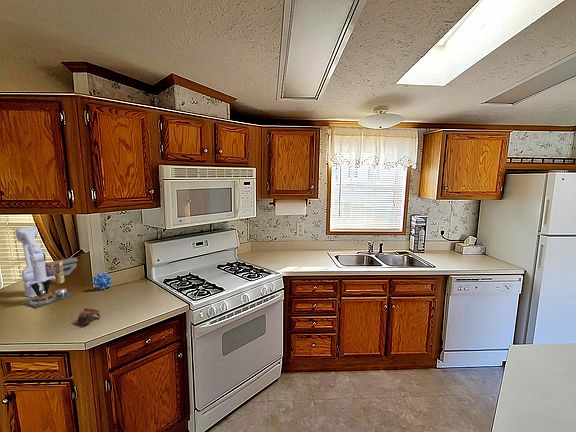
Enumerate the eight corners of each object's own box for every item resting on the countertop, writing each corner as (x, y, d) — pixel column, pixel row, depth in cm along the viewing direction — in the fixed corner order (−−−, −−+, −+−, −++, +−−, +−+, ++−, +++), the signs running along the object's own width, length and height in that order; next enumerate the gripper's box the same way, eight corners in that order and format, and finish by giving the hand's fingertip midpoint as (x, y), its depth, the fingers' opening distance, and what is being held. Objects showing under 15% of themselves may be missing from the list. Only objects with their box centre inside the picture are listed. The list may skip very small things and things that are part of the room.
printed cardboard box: (39, 281, 211) (37, 266, 210) (36, 279, 216) (34, 265, 215) (79, 272, 231) (77, 259, 230) (75, 270, 236) (74, 257, 235)
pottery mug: (74, 323, 150) (80, 307, 153) (94, 325, 156) (100, 310, 159) (77, 325, 142) (84, 308, 145) (98, 328, 147) (105, 311, 150)
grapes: (95, 293, 187) (93, 276, 186) (92, 291, 192) (90, 273, 190) (115, 288, 196) (113, 271, 195) (111, 286, 201) (110, 269, 199)
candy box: (65, 281, 211) (62, 261, 209) (61, 283, 206) (59, 262, 204) (51, 282, 209) (49, 261, 207) (47, 284, 205) (45, 263, 203)
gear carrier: (24, 304, 172) (23, 298, 171) (61, 292, 190) (60, 286, 190) (36, 308, 167) (35, 301, 166) (73, 295, 185) (73, 289, 185)
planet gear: (30, 299, 173) (29, 292, 172) (47, 293, 181) (46, 287, 180) (38, 301, 170) (37, 294, 169) (54, 296, 177) (53, 289, 176)
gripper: (28, 277, 165) (31, 299, 167) (57, 269, 178) (59, 290, 180) (21, 275, 168) (24, 297, 169) (50, 268, 181) (52, 289, 183)
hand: (42, 294), depth 175 cm, fingers closed on planet gear, 4 cm apart
